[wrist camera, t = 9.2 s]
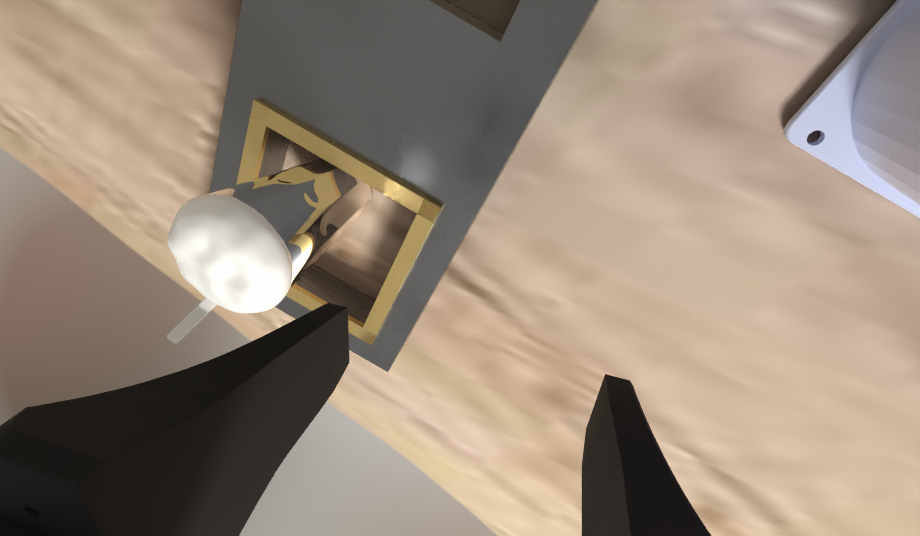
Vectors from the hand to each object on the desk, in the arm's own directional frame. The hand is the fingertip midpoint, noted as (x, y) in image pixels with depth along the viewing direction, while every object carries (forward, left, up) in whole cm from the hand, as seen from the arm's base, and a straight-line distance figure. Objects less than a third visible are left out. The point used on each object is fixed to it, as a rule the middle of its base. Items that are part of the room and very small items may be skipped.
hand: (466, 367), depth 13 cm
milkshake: (+9, +4, -11) cm, 14 cm away
